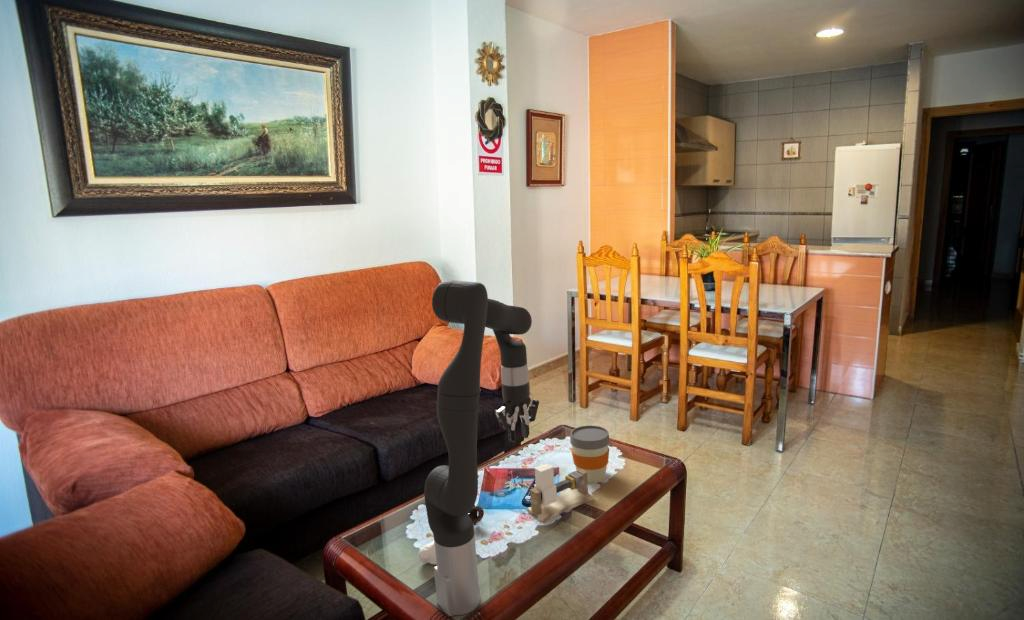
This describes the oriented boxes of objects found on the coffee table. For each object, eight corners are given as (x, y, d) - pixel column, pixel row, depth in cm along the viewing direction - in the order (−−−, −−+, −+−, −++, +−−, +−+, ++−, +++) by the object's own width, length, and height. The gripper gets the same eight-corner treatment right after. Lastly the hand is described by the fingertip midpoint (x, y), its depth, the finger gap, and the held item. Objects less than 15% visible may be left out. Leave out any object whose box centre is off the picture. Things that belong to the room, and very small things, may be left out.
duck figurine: (422, 577, 154) (432, 559, 146) (410, 550, 158) (418, 531, 150) (462, 558, 160) (473, 540, 153) (449, 533, 164) (460, 513, 157)
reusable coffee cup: (617, 471, 197) (615, 428, 194) (601, 489, 186) (599, 444, 183) (582, 464, 203) (580, 422, 200) (565, 480, 193) (562, 437, 190)
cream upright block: (544, 506, 172) (542, 472, 170) (534, 499, 176) (532, 466, 174) (557, 501, 175) (555, 468, 172) (546, 494, 178) (545, 462, 176)
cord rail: (541, 521, 171) (540, 496, 169) (527, 511, 177) (526, 486, 175) (592, 499, 181) (591, 474, 179) (577, 490, 187) (576, 466, 185)
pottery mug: (441, 534, 169) (439, 503, 172) (458, 531, 178) (456, 501, 180) (478, 529, 165) (475, 498, 167) (494, 527, 173) (491, 497, 176)
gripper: (500, 390, 156) (505, 451, 160) (544, 377, 164) (547, 436, 167) (485, 383, 162) (490, 442, 166) (528, 371, 170) (532, 428, 173)
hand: (519, 439), depth 167 cm, fingers open, 3 cm apart
